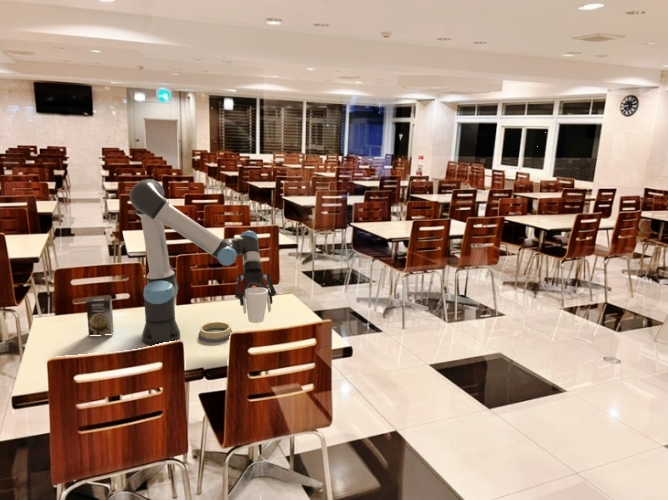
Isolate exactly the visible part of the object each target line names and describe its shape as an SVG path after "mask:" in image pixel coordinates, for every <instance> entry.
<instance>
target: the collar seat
mask: <svg viewBox="0 0 668 500" xmlns="http://www.w3.org/2000/svg"><path fill="white" fill-rule="evenodd" d="M231 332H232V333H233V329H232V326H231V324H229V323H227V322H225V321H210V322H207V323H204V324H202V325H201V326H200V327H199V332H198V338H199V340H201V341H204V342H207V343H218V342H224V341H226V340H229V339H230V338H229V336H230V333H231Z"/></svg>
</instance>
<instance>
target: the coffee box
mask: <svg viewBox="0 0 668 500" xmlns="http://www.w3.org/2000/svg"><path fill="white" fill-rule="evenodd" d="M112 302H113V298H112V296H111V295H110V296H95V297H94V296H93V297H92V296H91V297H88V298H87V300H86V301H85V304H86V316H87V318H86V319H87V328H88V339H97V338H98V339H99V338H112V337H113V335H114V333H115V330H113V329H115V328H114V317H113V304H112ZM112 332H113V333H112ZM105 334H112V335H105ZM89 335H101V336H89Z"/></svg>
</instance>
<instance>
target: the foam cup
mask: <svg viewBox="0 0 668 500" xmlns="http://www.w3.org/2000/svg"><path fill="white" fill-rule="evenodd" d="M244 296H245V302H246V313H247V320H248V322H250V323H251V324H252V323H253V324H258V323H259V324H260V323H262V322H264V320H265V312H266V307H267V297H268V290H267V289H266V288H262V287H260V286H253V287H248V288H247V289H246V290H245V294H244Z"/></svg>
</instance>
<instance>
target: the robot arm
mask: <svg viewBox="0 0 668 500" xmlns="http://www.w3.org/2000/svg"><path fill="white" fill-rule="evenodd" d="M129 200H130V204H131V205H132V206H133V207H134V208H135V213H136V215H137V216H138V217H140V220H141V228H142V232H143V239H144V245H145V246H144V247H145V251H146V260H147V264H148V271H149V272H148V273H147V275H146V282H147V284H146V285H145V286H144V288H143V294H142V295H143V300H144V301H143V302H144V316H145V324H144V327H143V330H142V333H141V339H142V343H143V344H145V345H149V346H153V345H155V344H159V343H163V342H169V341H175V340H178V341H179V340H180V339H181V331H180V328H179V325H178V323H177V321H176V311H175V309H176V308H175V301H176V298H177V295H178V292H179V285H178V282H177V280H176V272H175V271H174V270H173V269H172V268H171V265H170V258H169V251H168V245H167V244H168V243H167V238H166V231H165V225H166V226H168V227H169V228H170V229H172V230H173V231H174V232H176V233H178V234H180V236H182V237H184V238H185V239H187V240H188V241H190V242H191V243H193V244H195V245H196V246H197V247H199V248H201V249H203V250H204V251H205V252H206V253H208V254H210V255H211V256H212V257H214V258H215V259H217V261H218V262H219V263H220V264H221V265H223V266H228V267H229V266H231V265H233V264H234V263H235V262H236V259H237V256H241V255H242V264H243V274H242V275H241V274H238V275H237V276H236V277H237V278H236V280H237V285H236V288H235V289H236V291H235V295H234V299H239V304H240V306H241V307H242V311H243V314H246V313H247V305H246V297H245V290H246V289H247V288H249V286H250V285H251V286H252V285H258V287H262V288H266V289H267V290H268V297H267V302H266V306H267V312H268V313H271V311H272V304H273V297H275V296H276V294H277V292H276V290H275V288H274V287H275V286H274V285H273V282H272V280H271V275H270V273H267V274H264V273H263V271H262V269H263V268H262V263H261V254H260V246H259V239H258V235H257V233H256V232H255V231H253V230H246V231H243V232H241V233H240V236H239V237H234V238H233V237H232V238H220V237H218V236H217V235H216V234H214V233H212V232H211V231H210V230H209V229H207V228H206V227H204V226H202V225H200V224H199V223H198V222H196V221H195V220H194V219H192V218H191V217H189V216H188V215H186V214H184V213H183V212H182V211H180V210H179V209H177V208H176V207H174V206H173V205H172V204H170V201H169V199H167V198H166V197H165V189H164V187H163V186H162V184H161V183H160V182H158V181H156V180H154V179H149V178H148V179H147V178H146V179H142V180H140V181H138V182H137V183H135V185H133V186H132V187H131V189H130V192H129ZM263 279H264V280H265V281H266V284H267V285H266V284H265V282H264V281H263ZM243 280H245V284H244V286H243V288H242V290H241V291H240V289H241V283H242V281H243ZM267 286H268V287H267Z"/></svg>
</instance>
